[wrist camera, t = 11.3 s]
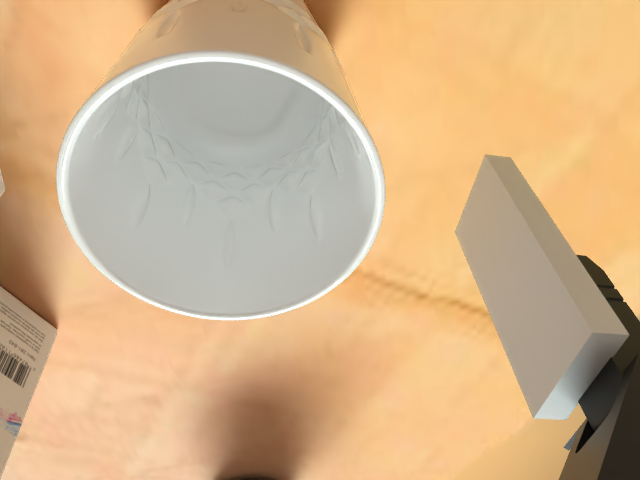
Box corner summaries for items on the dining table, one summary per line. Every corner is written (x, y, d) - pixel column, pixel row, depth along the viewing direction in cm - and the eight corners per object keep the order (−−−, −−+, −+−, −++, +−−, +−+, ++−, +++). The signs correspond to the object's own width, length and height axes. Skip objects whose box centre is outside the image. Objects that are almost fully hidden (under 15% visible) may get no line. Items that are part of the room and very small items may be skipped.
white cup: (155, -88, 18) (70, -7, 10) (373, -4, 20) (442, 115, 12) (121, 121, 22) (44, 291, 14) (303, 171, 24) (321, 342, 17)
